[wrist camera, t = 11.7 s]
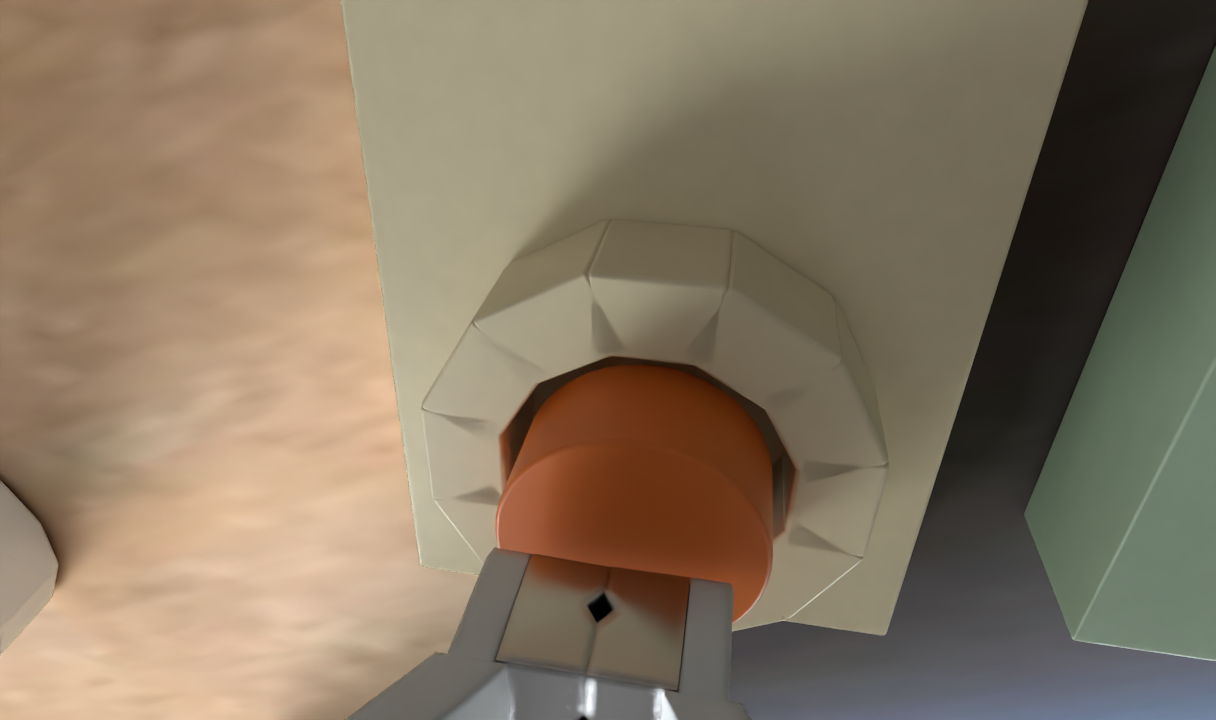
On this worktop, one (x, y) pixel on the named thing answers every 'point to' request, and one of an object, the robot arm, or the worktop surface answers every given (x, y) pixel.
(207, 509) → the worktop surface
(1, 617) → the white cup
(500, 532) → the power button
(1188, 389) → the dial panel
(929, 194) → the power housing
